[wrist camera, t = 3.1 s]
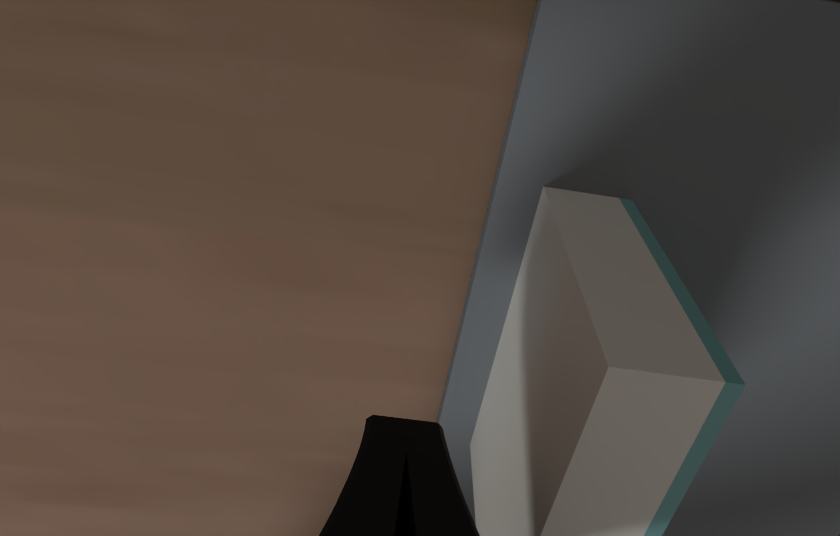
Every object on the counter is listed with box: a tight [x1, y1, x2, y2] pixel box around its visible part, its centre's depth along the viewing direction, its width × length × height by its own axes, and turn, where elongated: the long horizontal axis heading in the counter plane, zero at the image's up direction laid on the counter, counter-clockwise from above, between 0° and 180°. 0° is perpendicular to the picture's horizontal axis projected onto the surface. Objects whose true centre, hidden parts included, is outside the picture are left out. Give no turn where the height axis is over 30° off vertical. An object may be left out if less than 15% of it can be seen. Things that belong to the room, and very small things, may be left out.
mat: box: [436, 0, 840, 536], centre depth 17 cm, size 17×13×1 cm
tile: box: [470, 186, 746, 536], centre depth 14 cm, size 8×2×6 cm, turn 171°
